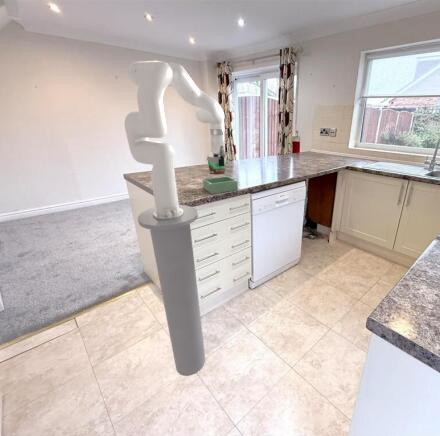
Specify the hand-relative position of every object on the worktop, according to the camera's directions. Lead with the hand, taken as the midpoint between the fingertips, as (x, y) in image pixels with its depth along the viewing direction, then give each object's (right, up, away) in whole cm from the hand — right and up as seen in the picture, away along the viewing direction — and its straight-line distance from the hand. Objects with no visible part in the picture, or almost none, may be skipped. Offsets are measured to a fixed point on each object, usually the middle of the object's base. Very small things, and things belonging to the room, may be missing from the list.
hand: (219, 164), depth 143 cm
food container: (0, -5, +2) cm, 5 cm away
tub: (-1, -14, +6) cm, 15 cm away
